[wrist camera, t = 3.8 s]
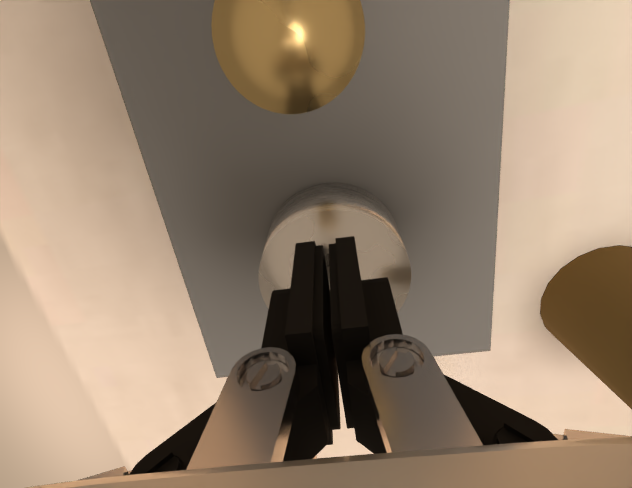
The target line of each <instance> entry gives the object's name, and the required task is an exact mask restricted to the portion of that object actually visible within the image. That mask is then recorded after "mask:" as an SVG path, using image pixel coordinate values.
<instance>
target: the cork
mask: <svg viewBox="0 0 632 488" xmlns="http://www.w3.org/2000/svg"><path fill="white" fill-rule="evenodd" d="M540 314H541V317H542V320H543V323H544V325H545V327H546V328H547V329H548V330H549V331H550V332H551V333H552V334H553V335H554V336H555V337H556V338H557V339H558V340H559V341H560V342H561V343H562V344H563V345H564V346H565V347H566V348H567V349H568V350H569V351H571V352H572V353H573V354H574V355H575V356H576V357H577V358H578V359H579V360H580V361H581V362H582V363H583V364H584V365H585V366H586V367H587V368H589V369H590V370H591V371H592V372H593V373H594V374H595V375H596V376H597V377H598V378H599V379H600V380H601V381H602V382H603V383H604V384H606V385H607V386H608V387H609V388H610V389H611V390H612V391H613V392H614V393H615V394H616V395H617V396H618V397H619V398H620V399H621V400H622V401H624V402H625V403H626V404H627V405H628V406H629V407H630V408H631V409H632V247H627V246H613V247H606V248H599V249H596V250H594V251H591V252H589V253H586V254H584V255H581V256H579V257H577V258H576V259H574V260H573V261H572V262H570V263H569V264H567V265H566V266H564V267H563V268H562V269H561V270H560V271H559V272H558V273H557V274H556V275H555V276H554V278H553V279H552V280H551V281H550V282H549V283H548V286H547V288H546V290H545V292H544V294H543V296H542V299H541V311H540Z"/></svg>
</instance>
